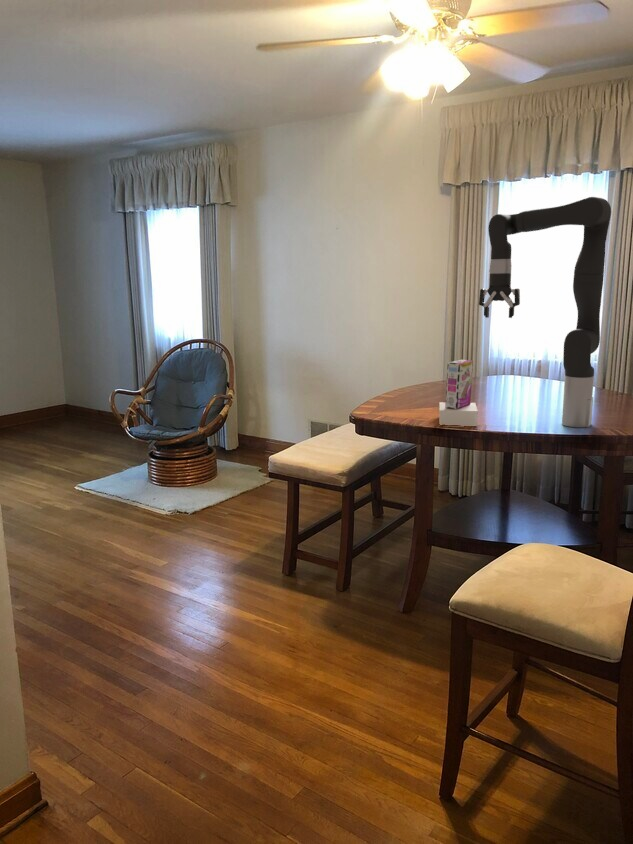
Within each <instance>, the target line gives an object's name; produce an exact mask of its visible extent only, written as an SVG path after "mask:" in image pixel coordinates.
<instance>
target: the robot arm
mask: <svg viewBox="0 0 633 844" xmlns="http://www.w3.org/2000/svg"><path fill="white" fill-rule="evenodd" d="M611 216H612V208H611V204H610V203H609V201H608V200H606V199H605V198H602V197H596V196H589V197H585V198H583V199H580V200H577V201H574V202H569V203H567V204H563V205H560V206H554V207H546V208H537V209H530V210H524V211H521V212H520V211H519V213H515V214H514V213H513V214H501V213H497V214H495V215H493V216H492V217H491V218H490V220H489V222H488V227H487V228H488V237H489V243H490V247H491V250H490V263H489V270H488V272H489V279H488V280H489V283H488V289H487V288H481V289H480V290H479V297H478V299H479V301H478V305H479V306H481V307H483V316H484V317H485V318H486V319H487V318H489V317H490V305H491V304H492V302H498V301H500V302H504V301H505V302H506V303H507V305H508V306H509V308H508V318H509V319H512V318H513V317H514V315H515V307H517V306H519V305H520V304H521V299H520V298H521V295H520V291H521V290H520V288H513V289H512V287H511V285H512V282H511V281H512V245H511V243H510V242H509V241H508V236H510V235H516V234H519V233H528V232H536V231H542V230H547V229H551V228H554V227H559V226H572V225H573V226H583V241H582V246H581V250H580V252H579V254H578V257H577V259H576V263H575V265H574V271H573V284H572V291H573V297H574V301H575V304H576V309H577V320H576V321H577V322H576V328H575V329H572V330H571V331H569V332H568V333H567V335H566V336H565V339H564V341H563V358H562V359H563V361H562V362H563V363H562V364H563V365H562V366H563V368H564V369H563V370H564V383H563V384H564V386H563V400H562V402H563V403H562V415H561V416H562V417H561V425H563V426H565V427H570V428H571V427H572V428H590V427H591V425H592V423H593V422H592V420H593V407H594V396H593V394H594V391H593V390H594V379H595V378H594V377H595V368H594V366H592V363H591V358H592V357H591V356H592V354H594V353H595V352H596V351H597V350H598V349H599V347H600V342H601V331H600V330H601V328H600V327H601V326H600V324H601V323H600V321H601V320H600V315H601V304H602V294H603V287H604V276H605V275H604V274H605V263H606V261H605V260H606V247H607V246H606V245H607V236H608V231H609V228H610V227H609V226H610V220H611ZM511 293H512V295H513V296H514V301H512V299H511V296H510V295H511ZM487 294H488V295H489V296H488V298H487V300H486V301H485V297H486V295H487Z"/></svg>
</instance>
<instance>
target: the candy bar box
mask: <svg viewBox="0 0 633 844" xmlns="http://www.w3.org/2000/svg"><path fill="white" fill-rule="evenodd" d="M473 366H474V360H471V359H470V360H469V359H458V360H453V361H448V362H447V371H446V372H447V373H446V388H445V389H446V390H445V402H446V404H445V408H449V409H459V408H462V407H465V406H468V405H470V403H471V400H472V399H471V396H472V382H473V381H472V380H473Z"/></svg>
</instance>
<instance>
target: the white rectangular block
mask: <svg viewBox="0 0 633 844" xmlns="http://www.w3.org/2000/svg"><path fill="white" fill-rule="evenodd" d="M445 404H446V401H445V402H443V401H439V407H438V408H439V412H438V413H439V414H438V415H439V416H438V420H439V424H445V425H461V426H460V427H464V426H477V427H478V417H479V415H478V413H479V410H478V407H477V405H476V404H477V403H476V402H470V405H468V406H465V407H462V408H459V409H449V408H445ZM439 424H438V425H439Z"/></svg>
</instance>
